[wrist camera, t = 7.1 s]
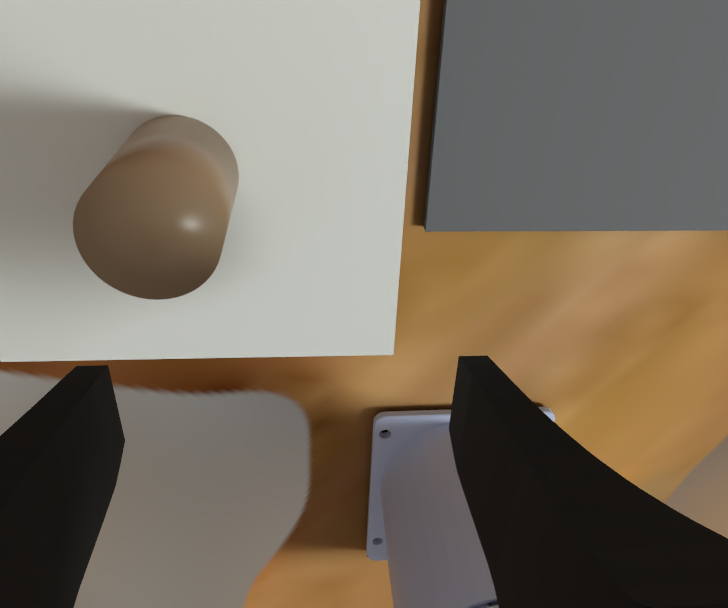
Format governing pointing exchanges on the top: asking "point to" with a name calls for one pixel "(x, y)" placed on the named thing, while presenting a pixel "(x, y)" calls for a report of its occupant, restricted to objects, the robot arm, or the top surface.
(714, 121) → the mat
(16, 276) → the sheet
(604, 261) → the top surface
